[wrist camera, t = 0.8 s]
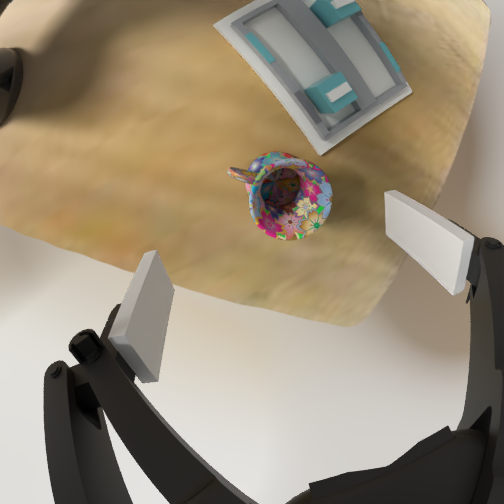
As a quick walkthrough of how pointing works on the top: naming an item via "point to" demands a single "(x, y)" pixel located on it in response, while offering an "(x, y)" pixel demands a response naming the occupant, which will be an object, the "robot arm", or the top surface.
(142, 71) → the top surface
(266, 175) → the mug
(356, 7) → the tab
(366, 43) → the switch board
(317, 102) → the tab
